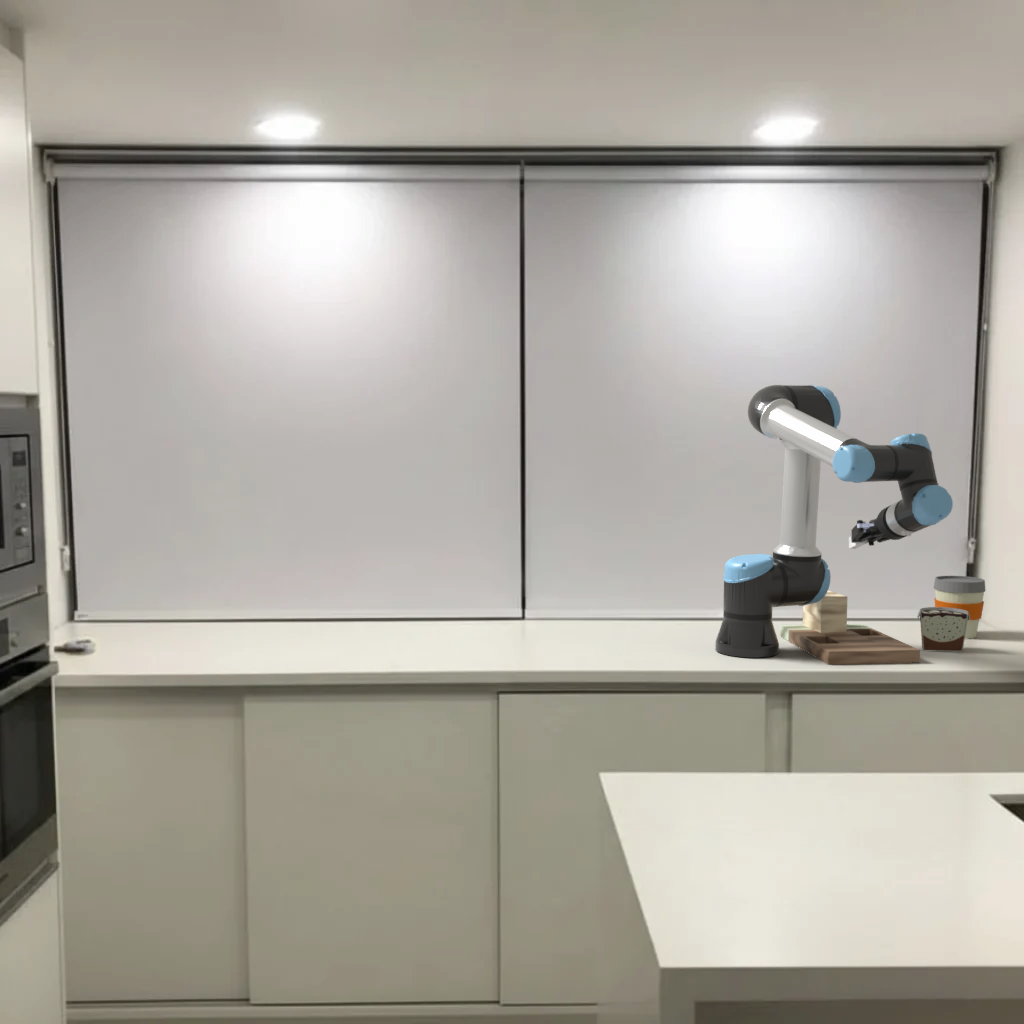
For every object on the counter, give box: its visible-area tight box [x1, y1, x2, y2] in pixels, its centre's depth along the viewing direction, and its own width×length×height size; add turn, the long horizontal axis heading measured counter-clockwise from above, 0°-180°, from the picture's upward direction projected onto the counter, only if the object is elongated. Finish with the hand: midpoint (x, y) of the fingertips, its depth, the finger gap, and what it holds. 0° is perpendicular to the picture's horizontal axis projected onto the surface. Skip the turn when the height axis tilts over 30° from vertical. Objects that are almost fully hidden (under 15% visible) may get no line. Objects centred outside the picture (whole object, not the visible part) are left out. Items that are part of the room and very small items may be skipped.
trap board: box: [780, 623, 921, 665], centre depth 260 cm, size 32×22×3 cm
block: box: [802, 590, 848, 633], centre depth 270 cm, size 10×7×9 cm
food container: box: [916, 606, 970, 652], centre depth 260 cm, size 12×6×10 cm, turn 84°
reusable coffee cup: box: [933, 575, 986, 639], centre depth 276 cm, size 12×13×15 cm
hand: (851, 543), depth 250 cm, fingers closed
